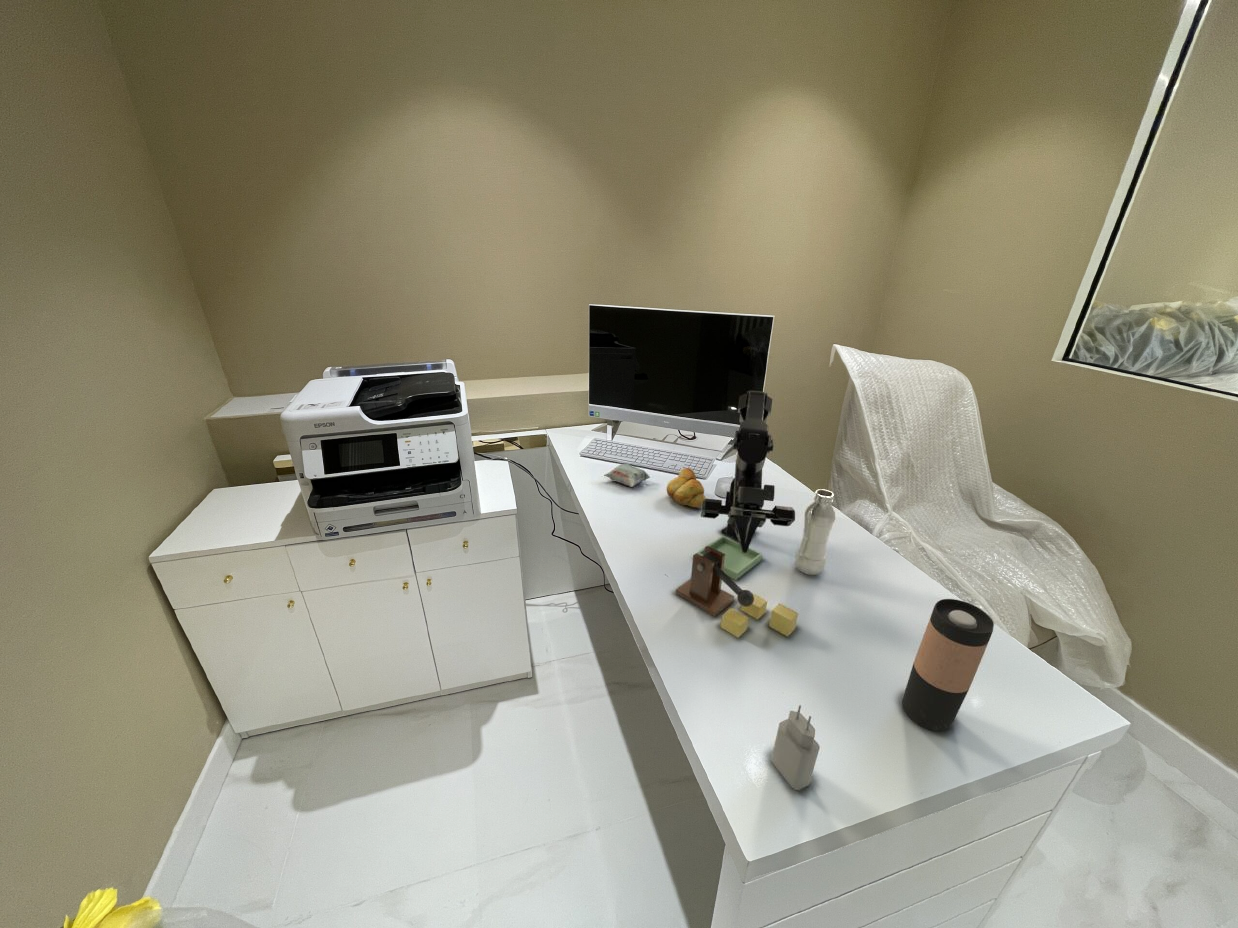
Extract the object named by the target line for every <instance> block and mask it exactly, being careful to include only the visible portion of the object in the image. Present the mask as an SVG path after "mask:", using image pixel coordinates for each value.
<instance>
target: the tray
mask: <svg viewBox="0 0 1238 928" xmlns="http://www.w3.org/2000/svg"><path fill="white" fill-rule="evenodd" d="M707 546H709V547H712V548H714V549H716V550H718V551H720V552H722V553H724V554H725V561H724V568H723V572H724V573H725V574H726V575H727V576H729V577H730V578H731V579H732V580H735V581H738V580H739V578H741V577H742V576H743V575H745V574H746V573H747V572H749V571H750V570H751V569H752V568H754V567H755V566H756V565H758V564H759V563H760V562H761V561H762V559H763V553H761V552H759V551H757V550H755V549H752V548H751V547H749V548H748V551H747V553H742V551H741V547H740V544H739V541H738V542H737V540H733V539H731V538H729V537H727V536H725V535H722V536H720V537H719V538H717V539H716V540H714V541H713V542H711V543H710V544H708V545H707ZM704 551H705V547H704V548H702V549H701V550H699V551H698V552H696V553H697V554H699V555H701V556H703V555H704Z"/></svg>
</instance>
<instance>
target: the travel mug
mask: <svg viewBox="0 0 1238 928" xmlns="http://www.w3.org/2000/svg"><path fill="white" fill-rule="evenodd" d="M994 626H995V623H994V619H992V617H991V616H990V615H989V614H988V613H986V611H984V610H982V609H981V608H980V607H977V606H976V605H974V604H971V603H970V602H966V601H964V600H959V599H955V598H943V599H940V600H938V601H936V603H935V604H934V606H933V608H932V612H931V614H930V617H929V620H928V623H927V625H926V627H925V631H924V633H923V637H922V639H921V641H920V643H919V647H918V649H917V652H916V654H915V658H914V660H913V664H912V667H911V670H910V673H909V677H908V679H907V683H906V686H905V690H904V693H903V697H902V701H901V703H902V709H903V711H904V713H905V714H906V715H907V717H908V718H909V719H910V720H912V722H913V723H915V724H916V725H918V726H920V727H922V728H924V729H926V730H929V731H932V732H945V731H947V730H948V729H950V728H951V727H952V725H953V723H954V721H955V719H956V717H957V715H958V713H959V711H960V709H961V707H962V705H963V703H964V701H965V699H966V697H967V695H968V692H969V690H970V688H971V686H972V684H973V682H974V678H975V676H976V674H977V671H978V668H979V667H980V664H981V662H982V659H983V657H984V654H985V652H986V650H987V648H988V645H989V642H990V641H991V637H992V635H993V633H994Z"/></svg>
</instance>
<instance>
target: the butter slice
mask: <svg viewBox="0 0 1238 928" xmlns="http://www.w3.org/2000/svg"><path fill="white" fill-rule="evenodd" d="M798 617H799V612H798V611H796V610H794V609H792V608H790V607H787V606H786V605H784V604H782V603H778V604H777V605H776V606H775V607H773V608H772V609H771V614H770V617H769V622H768V623H769V624H768V627H769V628H771V629H773V630H774V631H777V632H778V633H780V634H782V635H784V636H786V637H789V636H790V635H791V634H792V633H793V632H794V631H795V629H796V627H797V626H796V625H797V621H798Z"/></svg>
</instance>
